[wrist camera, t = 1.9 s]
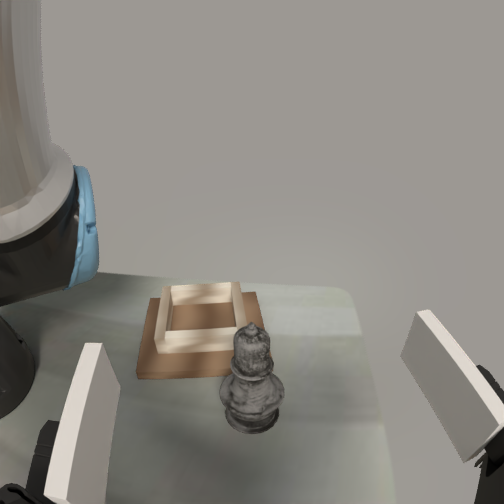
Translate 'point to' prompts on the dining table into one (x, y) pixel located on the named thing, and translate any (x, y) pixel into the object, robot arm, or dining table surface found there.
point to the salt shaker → (251, 383)
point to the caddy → (194, 330)
